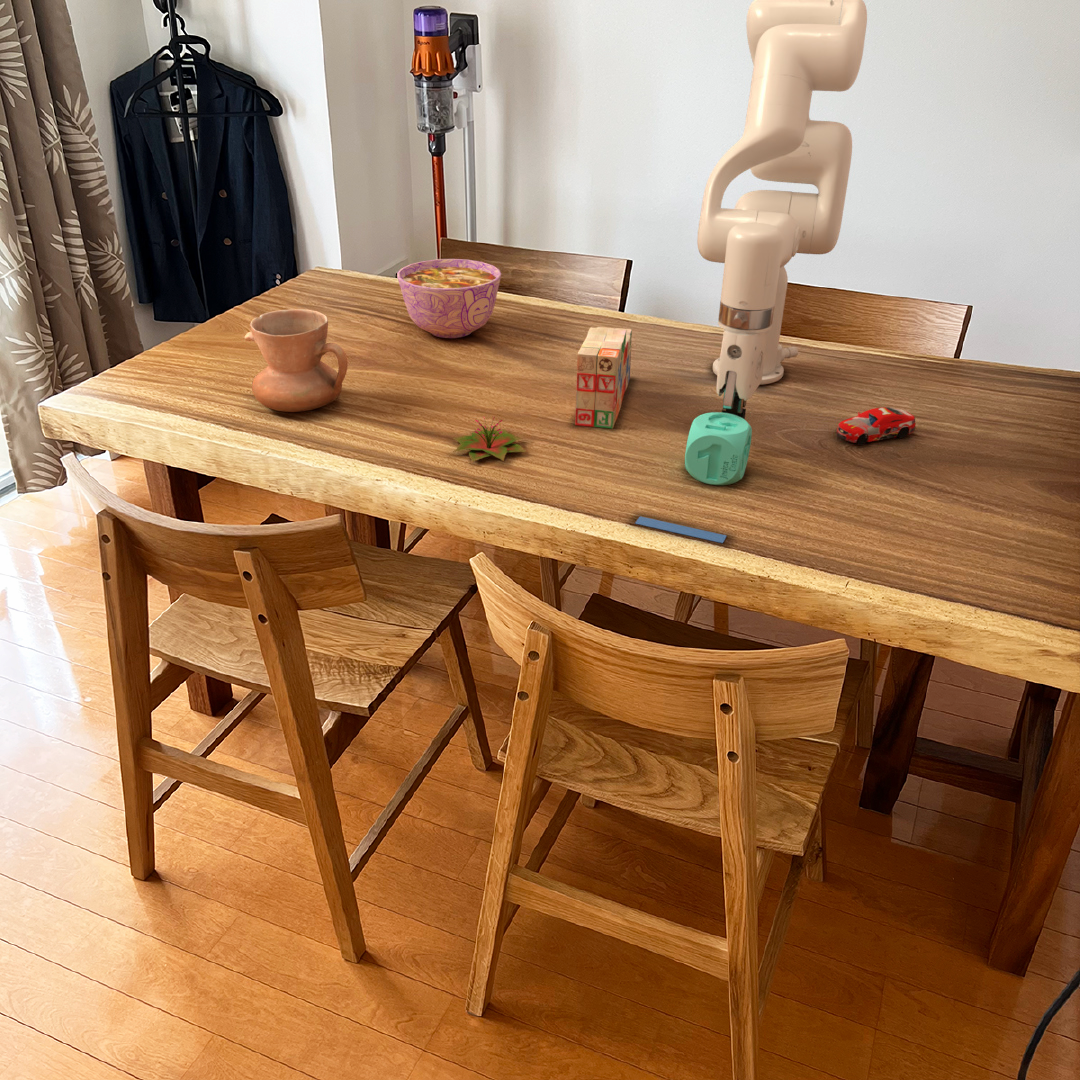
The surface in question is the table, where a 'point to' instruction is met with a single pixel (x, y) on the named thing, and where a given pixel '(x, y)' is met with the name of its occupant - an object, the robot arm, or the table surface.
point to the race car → (876, 425)
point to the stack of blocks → (602, 376)
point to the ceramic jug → (295, 360)
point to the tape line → (681, 529)
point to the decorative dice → (718, 448)
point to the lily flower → (489, 443)
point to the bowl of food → (449, 295)
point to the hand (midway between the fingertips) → (731, 432)
